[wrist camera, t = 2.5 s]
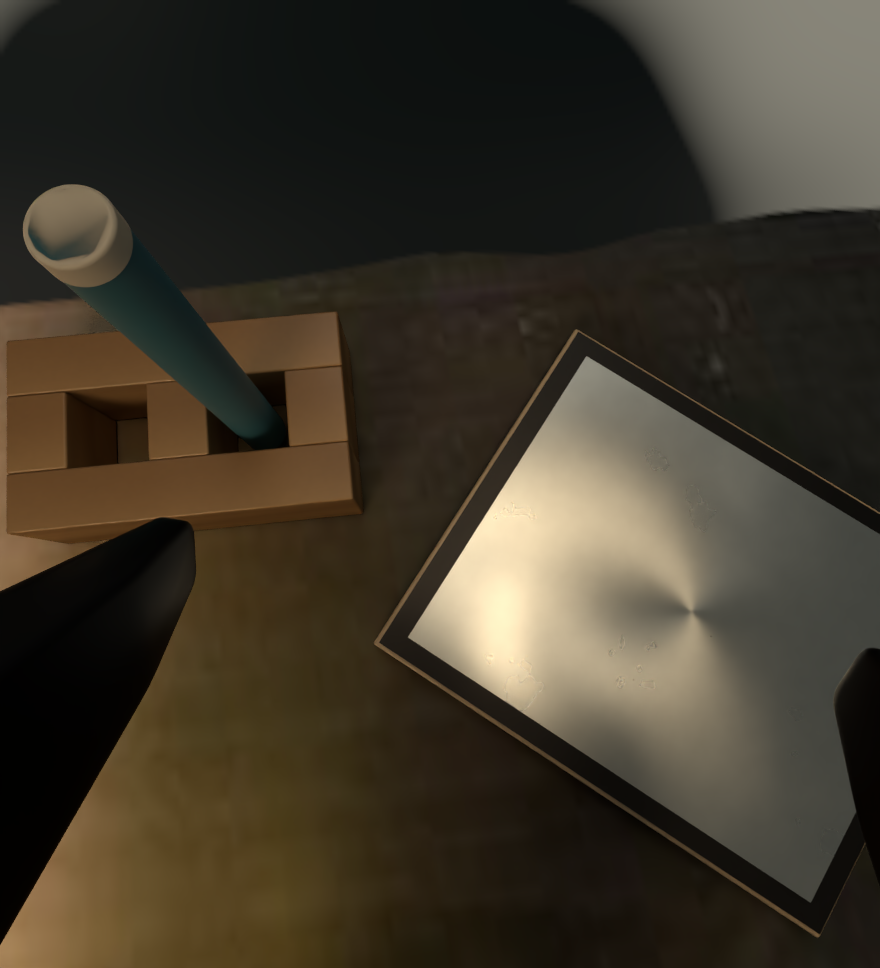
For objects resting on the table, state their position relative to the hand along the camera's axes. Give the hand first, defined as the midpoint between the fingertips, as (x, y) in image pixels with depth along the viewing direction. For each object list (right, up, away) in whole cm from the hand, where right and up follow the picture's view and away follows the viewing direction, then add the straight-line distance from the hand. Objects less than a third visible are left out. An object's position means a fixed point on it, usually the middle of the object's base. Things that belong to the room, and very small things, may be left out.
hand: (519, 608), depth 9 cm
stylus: (-7, +3, +15) cm, 17 cm away
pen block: (-9, +3, +15) cm, 18 cm away
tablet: (+7, -3, +14) cm, 16 cm away
